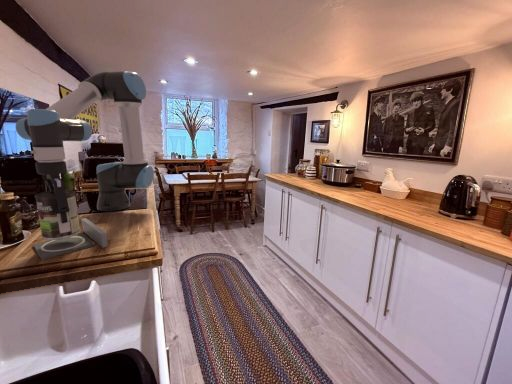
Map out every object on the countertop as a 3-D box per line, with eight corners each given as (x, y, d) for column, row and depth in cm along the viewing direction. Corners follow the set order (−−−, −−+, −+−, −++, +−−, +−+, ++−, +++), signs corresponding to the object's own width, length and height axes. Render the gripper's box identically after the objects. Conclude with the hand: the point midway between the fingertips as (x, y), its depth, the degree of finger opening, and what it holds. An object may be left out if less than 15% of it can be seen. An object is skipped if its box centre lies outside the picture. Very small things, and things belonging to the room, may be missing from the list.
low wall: (82, 230, 98) (81, 218, 97) (87, 229, 99) (85, 217, 98) (102, 247, 84) (101, 233, 82) (107, 246, 85) (106, 232, 84)
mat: (33, 246, 84) (33, 243, 84) (82, 234, 94) (81, 232, 94) (41, 259, 75) (41, 257, 75) (94, 245, 85) (94, 242, 85)
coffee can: (55, 242, 77) (48, 198, 74) (34, 237, 80) (26, 195, 77) (87, 231, 86) (82, 191, 83) (67, 227, 90) (61, 188, 87)
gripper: (28, 159, 83) (39, 222, 88) (42, 164, 68) (55, 240, 73) (56, 157, 88) (66, 217, 93) (75, 162, 74) (84, 233, 79)
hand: (61, 227), depth 83 cm, fingers closed on coffee can, 10 cm apart
